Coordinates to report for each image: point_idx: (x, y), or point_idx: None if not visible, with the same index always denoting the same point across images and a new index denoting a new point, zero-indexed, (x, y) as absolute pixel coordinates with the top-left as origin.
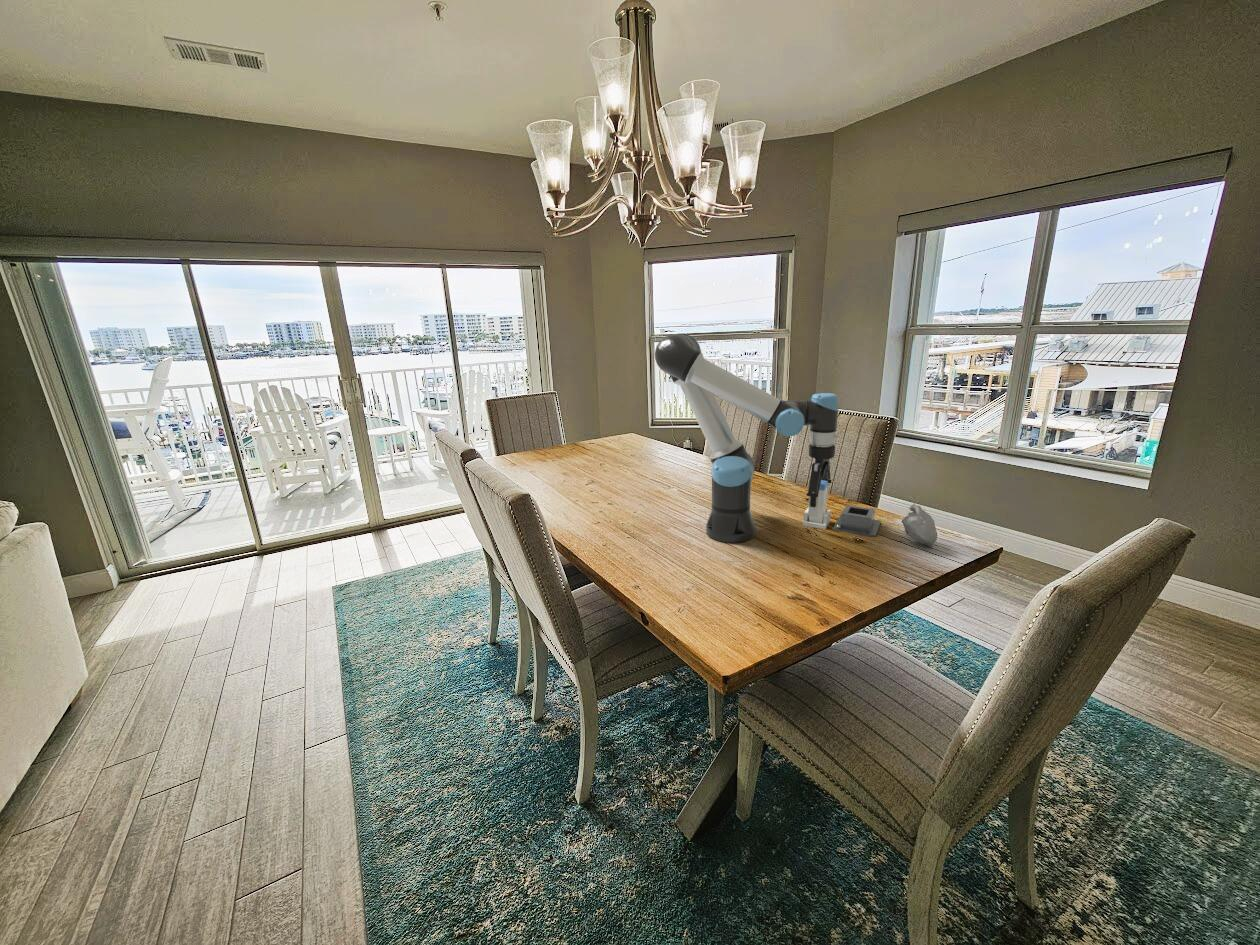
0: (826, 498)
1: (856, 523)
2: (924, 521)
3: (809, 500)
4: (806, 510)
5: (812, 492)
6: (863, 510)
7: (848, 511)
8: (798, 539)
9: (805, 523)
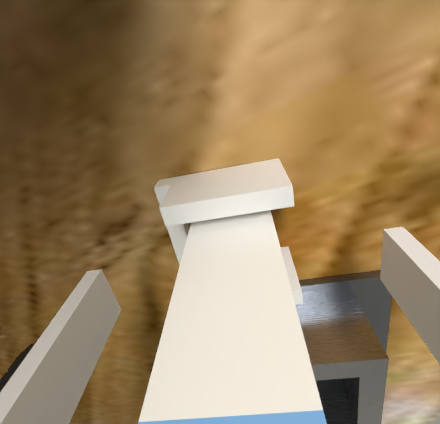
0: (398, 300)
1: None
2: None
3: (17, 373)
4: (210, 203)
5: (156, 384)
6: (355, 404)
7: None
8: (6, 231)
9: (159, 200)
